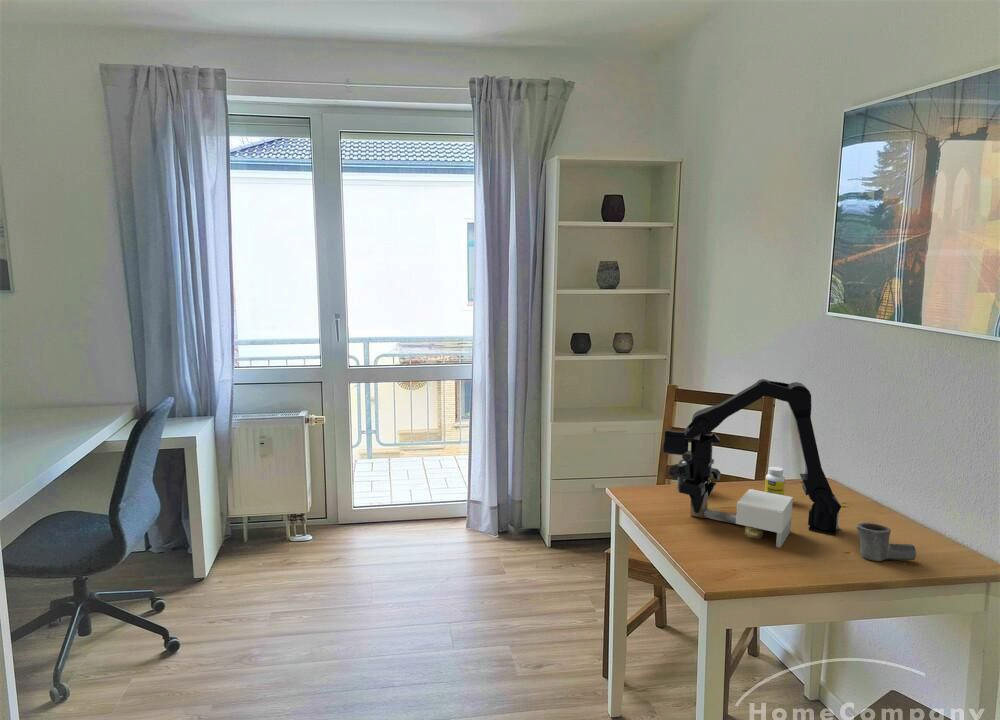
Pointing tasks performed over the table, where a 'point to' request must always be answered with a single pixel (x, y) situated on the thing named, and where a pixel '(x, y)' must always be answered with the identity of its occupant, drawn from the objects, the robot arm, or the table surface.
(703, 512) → the taupe block mallet
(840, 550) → the table surface
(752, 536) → the token
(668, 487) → the table surface
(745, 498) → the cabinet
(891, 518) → the table surface
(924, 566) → the table surface
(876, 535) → the pipe
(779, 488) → the supplement bottle
